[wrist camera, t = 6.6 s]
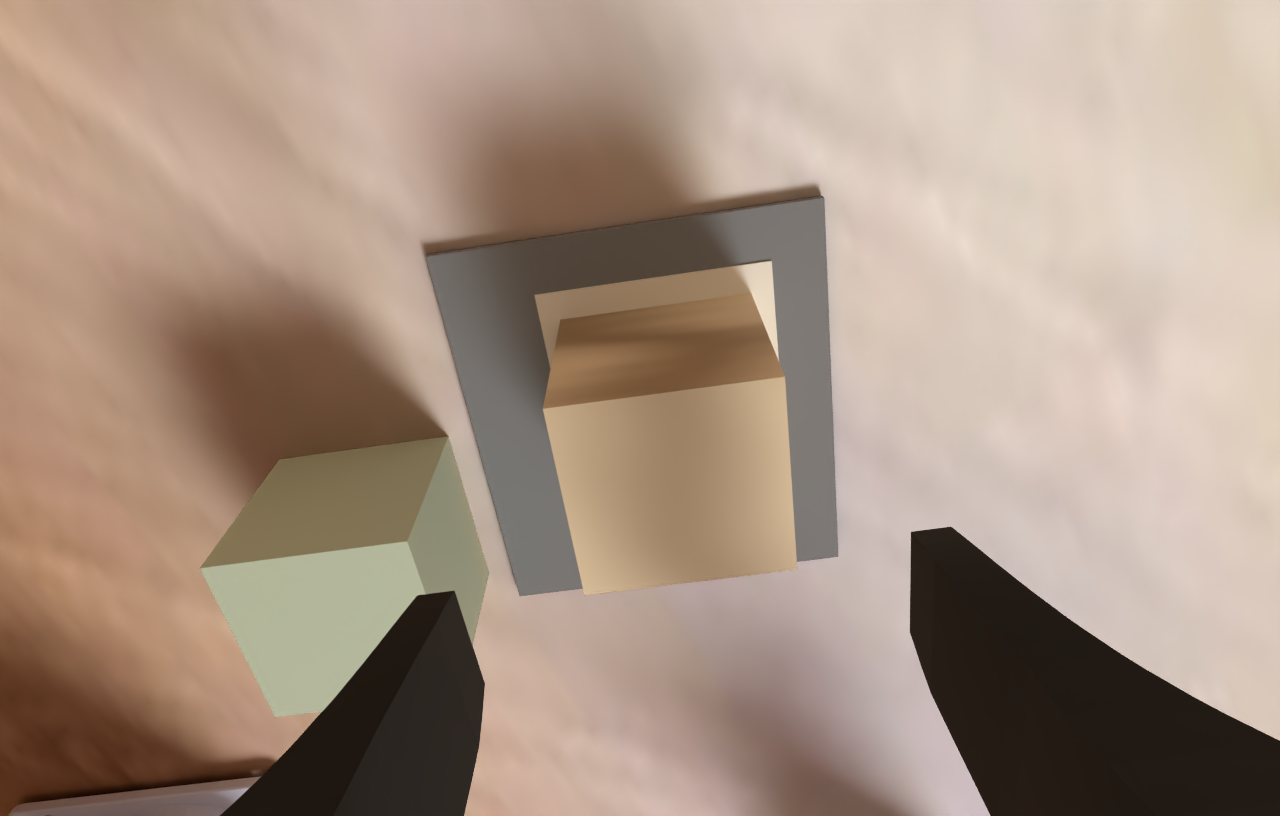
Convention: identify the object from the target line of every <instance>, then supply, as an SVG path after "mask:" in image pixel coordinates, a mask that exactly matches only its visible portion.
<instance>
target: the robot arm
mask: <svg viewBox="0 0 1280 816" xmlns="http://www.w3.org/2000/svg"><path fill="white" fill-rule="evenodd" d="M910 633H911V636H912V639H913V642H914V645H915V648H916V651H917V654H918V657H919V660H920V663H921V666H922V669H923V672H924V675H925V678H926V680H927V683H928V686H929V689H930V692H931V694H932V696H933V698H934V700H935V702H936V705H937V707H938V709H939V711H940V713H941V715H942V717H943V719H944V721H945V723H946V725H947V727H948V729H949V732H950V734H951V736H952V738H953V740H954V742H955V744H956V746H957V748H958V750H959V752H960V754H961V756H962V758H963V760H964V762H965V764H966V766H967V768H968V770H969V772H970V774H971V777H972V779H973V781H974V783H975V785H976V787H977V789H978V791H979V793H980V795H981V797H982V799H983V801H984V803H985V805H986V807H987V809H988V811H989V813H990V815H991V816H1280V741H1279V740H1277V739H1275V738H1273V737H1271V736H1269V735H1267V734H1265V733H1263V732H1261V731H1259V730H1257V729H1255V728H1253V727H1251V726H1249V725H1247V724H1245V723H1243V722H1240V721H1238V720H1236V719H1234V718H1232V717H1230V716H1228V715H1226V714H1224V713H1222V712H1221V711H1219V710H1217V709H1215V708H1213V707H1211V706H1209V705H1207V704H1206V703H1204V702H1202V701H1200V700H1198V699H1196V698H1194V697H1193V696H1191V695H1189V694H1187V693H1186V692H1184V691H1182V690H1180V689H1179V688H1177V687H1175V686H1173V685H1172V684H1170V683H1168V682H1167V681H1165V680H1163V679H1161V678H1160V677H1158V676H1156V675H1154V674H1153V673H1151V672H1149V671H1147V670H1146V669H1144V668H1142V667H1141V666H1139V665H1138V664H1136V663H1134V662H1133V661H1131V660H1130V659H1128V658H1126V657H1125V656H1123V655H1122V654H1120V653H1118V652H1117V651H1115V650H1114V649H1112V648H1111V647H1109V646H1108V645H1107V644H1105V643H1104V642H1102V641H1101V640H1099V639H1098V638H1096V637H1095V636H1093V635H1092V634H1090V633H1089V632H1087V631H1086V630H1084V629H1083V628H1081V627H1080V626H1078V625H1077V624H1075V623H1074V622H1073V621H1071V620H1070V619H1068V618H1067V617H1066V616H1064V615H1063V614H1062V613H1060V612H1059V611H1058V610H1056V609H1055V608H1054V607H1052V606H1051V605H1050V604H1048V603H1047V602H1045V601H1044V600H1043V599H1041V598H1040V597H1039V596H1037V595H1036V594H1035V593H1033V592H1032V591H1031V590H1030V589H1028V588H1027V587H1026V586H1024V585H1023V584H1022V583H1021V582H1019V581H1018V580H1017V579H1015V578H1014V577H1013V576H1012V575H1010V574H1009V573H1008V572H1007V571H1005V570H1004V569H1003V568H1002V567H1000V566H999V565H998V564H997V563H995V562H994V561H993V560H992V559H991V558H989V557H988V556H987V555H986V554H984V553H983V552H982V551H981V550H979V549H978V548H977V547H976V546H975V545H973V544H972V543H971V542H970V541H968V540H967V539H966V538H965V537H963V536H962V535H961V534H960V533H958V532H957V531H956V530H955V529H953V528H952V527H946V528H938V529H931V530H923V531H915V532H911V590H910ZM484 687H485V683H484V680H483V677H482V674H481V671H480V668H479V665H478V661H477V658H476V655H475V652H474V649H473V646H472V643H471V640H470V637H469V634H468V630H467V627H466V624H465V621H464V618H463V615H462V612H461V609H460V606H459V603H458V599H457V596H456V593H455V591H447V592H439V593H431V594H423V595H417V596H416V598H415V599H414V600H413V601H412V602H411V604H410V605H409V606H408V607H407V609H406V610H405V611H404V612H403V614H402V615H401V616H400V617H399V619H398V620H397V621H396V622H395V624H394V625H393V626H392V627H391V629H390V630H389V631H388V632H387V634H386V635H385V636H384V638H383V639H382V640H381V641H380V643H379V644H378V645H377V646H376V648H375V649H374V650H373V651H372V653H371V654H370V655H369V656H368V658H367V659H366V660H365V662H364V663H363V664H362V665H361V666H360V668H359V669H358V670H357V671H356V673H355V674H354V675H353V676H352V677H351V679H350V680H349V681H348V682H347V683H346V685H345V686H344V687H343V688H342V690H341V691H340V692H339V693H338V694H337V696H336V697H335V698H334V699H333V700H332V701H331V703H330V704H329V705H328V706H327V707H326V708H325V709H324V710H323V711H322V713H321V714H320V715H319V716H318V717H317V718H316V719H315V720H314V722H313V723H312V724H311V725H310V726H309V727H308V728H307V729H306V730H305V732H304V733H303V734H302V735H301V736H300V737H299V738H298V739H297V741H296V742H295V743H294V744H293V745H292V746H291V747H290V748H289V749H288V750H287V751H286V752H285V753H284V754H283V755H282V756H281V757H280V758H279V760H278V761H277V762H276V763H275V764H274V765H273V766H272V767H271V768H270V769H269V770H268V771H267V772H266V773H265V774H264V775H262V776H260V777H251V778H242V779H234V780H225V781H216V782H207V783H199V784H190V785H181V786H172V787H163V788H155V789H146V790H137V791H128V792H120V793H111V794H102V795H93V796H85V797H76V798H67V799H58V800H50V801H41V802H32V803H23V804H19V805H16V806H15V807H14V808H13V810H12V811H11V812H10V814H9V815H8V816H464V813H465V808H466V804H467V799H468V795H469V790H470V786H471V781H472V776H473V772H474V767H475V763H476V758H477V753H478V748H479V741H480V732H481V722H482V711H483V699H484Z"/></svg>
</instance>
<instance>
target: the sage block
mask: <svg viewBox="0 0 1280 816" xmlns="http://www.w3.org/2000/svg"><path fill="white" fill-rule="evenodd" d="M200 570H201V572H202V574H203V576H204V578H205V580H206V582H207V584H208V586H209V587H210V589H211V591H212V593H213V595H214V597H215V599H216V601H217V603H218V605H219V607H220V609H221V611H222V613H223V615H224V617H225V619H226V621H227V623H228V625H229V627H230V629H231V631H232V633H233V635H234V637H235V639H236V641H237V643H238V645H239V647H240V649H241V651H242V653H243V655H244V657H245V659H246V661H247V663H248V665H249V666H250V668H251V670H252V672H253V674H254V676H255V678H256V680H257V682H258V684H259V686H260V688H261V690H262V692H263V694H264V696H265V698H266V700H267V702H268V704H269V706H270V708H271V710H272V712H273V714H274V716H275V717H281V716H289V715H298V714H306V713H314V712H322V711H323V710H324V709H325V708H326V707H327V706H328V705H329V704H330V703H331V701H332V700H333V699H334V698H335V697H336V696H337V694H338V693H339V692H340V691H341V690H342V688H343V687H344V686H345V685H346V683H347V682H348V681H349V680H350V679H351V677H352V676H353V675H354V674H355V673H356V671H357V670H358V669H359V668H360V666H361V665H362V664H363V663H364V662H365V660H366V659H367V658H368V656H369V655H370V654H371V653H372V651H373V650H374V649H375V648H376V646H377V645H378V644H379V643H380V641H381V640H382V639H383V638H384V636H385V635H386V634H387V632H388V631H389V630H390V629H391V627H392V626H393V625H394V624H395V622H396V621H397V620H398V619H399V617H400V616H401V615H402V614H403V612H404V611H405V610H406V609H407V607H408V606H409V605H410V604H411V602H412V601H413V600H414V599H415V598H416V596H417V595H423V594H431V593H439V592H447V591H455V593H456V596H457V599H458V603H459V606H460V609H461V612H462V615H463V618H464V621H465V624H466V627H467V630H468V634H469V637H470V640H471V643H472V645H473V640H474V636H475V632H476V627H477V623H478V619H479V614H480V610H481V606H482V602H483V597H484V593H485V589H486V584H487V580H488V576H489V571H488V568H487V564H486V561H485V558H484V554H483V551H482V547H481V544H480V541H479V537H478V534H477V531H476V527H475V524H474V520H473V517H472V514H471V510H470V507H469V504H468V500H467V497H466V493H465V490H464V487H463V483H462V480H461V477H460V473H459V470H458V467H457V463H456V460H455V456H454V453H453V450H452V446H451V443H450V440H449V436H446V437H439V438H432V439H424V440H417V441H410V442H402V443H395V444H388V445H380V446H373V447H366V448H359V449H351V450H344V451H337V452H329V453H322V454H315V455H307V456H300V457H293V458H285V459H279V460H278V462H277V463H276V464H275V466H274V467H273V469H272V470H271V471H270V473H269V474H268V475H267V477H266V478H265V480H264V481H263V482H262V484H261V485H260V486H259V488H258V489H257V491H256V492H255V493H254V495H253V496H252V497H251V499H250V500H249V502H248V503H247V504H246V506H245V507H244V508H243V510H242V511H241V513H240V514H239V515H238V517H237V518H236V519H235V521H234V522H233V524H232V525H231V526H230V528H229V529H228V530H227V532H226V533H225V534H224V536H223V537H222V539H221V540H220V541H219V543H218V544H217V545H216V547H215V548H214V550H213V551H212V552H211V554H210V555H209V556H208V558H207V559H206V561H205V562H204V563H203V565H202V566H201V567H200Z"/></svg>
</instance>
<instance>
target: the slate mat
mask: <svg viewBox="0 0 1280 816" xmlns="http://www.w3.org/2000/svg"><path fill="white" fill-rule="evenodd" d="M426 260H427V264H428V268H429V271H430V275H431V278H432V282H433V286H434V289H435V293H436V296H437V300H438V304H439V307H440V311H441V314H442V318H443V322H444V325H445V329H446V332H447V336H448V340H449V343H450V347H451V350H452V354H453V358H454V361H455V365H456V368H457V372H458V376H459V379H460V383H461V386H462V390H463V394H464V397H465V401H466V404H467V408H468V412H469V415H470V419H471V422H472V426H473V430H474V433H475V437H476V440H477V444H478V448H479V451H480V455H481V458H482V462H483V466H484V469H485V473H486V476H487V480H488V484H489V487H490V491H491V494H492V498H493V502H494V505H495V509H496V512H497V516H498V520H499V523H500V527H501V530H502V534H503V538H504V541H505V545H506V548H507V552H508V556H509V559H510V563H511V566H512V570H513V574H514V577H515V581H516V585H517V588H518V592H519V595H520V596H526V595H534V594H542V593H550V592H558V591H566V590H574V589H582V588H583V587H582V582H581V578H580V573H579V569H578V564H577V560H576V555H575V551H574V546H573V542H572V537H571V533H570V528H569V524H568V519H567V515H566V511H565V506H564V502H563V497H562V493H561V488H560V484H559V479H558V475H557V470H556V466H555V461H554V457H553V452H552V448H551V443H550V439H549V434H548V430H547V426H546V421H545V417H544V412H543V405H544V400H545V395H546V390H547V385H548V380H549V375H550V370H551V364H552V359H553V354H554V349H555V344H556V339H557V334H558V329H559V324H560V320H561V319H568V318H576V317H583V316H590V315H597V314H604V313H612V312H619V311H626V310H633V309H641V308H648V307H655V306H662V305H669V304H677V303H684V302H691V301H698V300H705V299H713V298H720V297H727V296H734V295H742V294H749V293H751V294H752V296H753V299H754V301H755V304H756V306H757V309H758V311H759V314H760V316H761V318H762V321H763V323H764V326H765V328H766V331H767V333H768V336H769V338H770V341H771V343H772V346H773V348H774V351H775V353H776V356H777V358H778V361H779V363H780V366H781V368H782V371H783V373H784V376H785V385H786V401H787V416H788V432H789V448H790V463H791V479H792V495H793V510H794V526H795V542H796V557H797V562H799V561H807V560H815V559H823V558H831V557H838V538H837V513H836V487H835V461H834V436H833V410H832V385H831V359H830V334H829V308H828V283H827V257H826V232H825V206H824V197H823V196H817V197H810V198H804V199H797V200H790V201H783V202H777V203H770V204H763V205H756V206H750V207H743V208H736V209H729V210H723V211H716V212H709V213H703V214H696V215H689V216H682V217H676V218H669V219H662V220H655V221H649V222H642V223H635V224H629V225H622V226H615V227H608V228H602V229H595V230H588V231H581V232H575V233H568V234H561V235H554V236H548V237H541V238H534V239H528V240H521V241H514V242H507V243H501V244H494V245H487V246H480V247H474V248H467V249H460V250H454V251H447V252H440V253H433V254H427V256H426Z"/></svg>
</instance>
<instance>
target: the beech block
mask: <svg viewBox="0 0 1280 816" xmlns="http://www.w3.org/2000/svg"><path fill="white" fill-rule="evenodd" d="M543 412H544V417H545V421H546V426H547V430H548V434H549V439H550V443H551V448H552V452H553V457H554V461H555V466H556V470H557V475H558V479H559V484H560V488H561V493H562V497H563V502H564V506H565V511H566V515H567V519H568V524H569V528H570V533H571V537H572V542H573V546H574V551H575V555H576V560H577V564H578V569H579V573H580V578H581V582H582V587H583V591H584V595H590V594H598V593H606V592H615V591H623V590H631V589H639V588H648V587H656V586H664V585H673V584H681V583H689V582H698V581H706V580H714V579H723V578H731V577H739V576H747V575H756V574H764V573H772V572H781V571H789V570H797V557H796V542H795V526H794V510H793V495H792V479H791V463H790V448H789V432H788V416H787V401H786V385H785V376H784V373H783V371H782V368H781V366H780V363H779V361H778V358H777V356H776V353H775V351H774V348H773V346H772V343H771V341H770V338H769V336H768V333H767V331H766V328H765V326H764V323H763V321H762V318H761V316H760V314H759V311H758V309H757V306H756V304H755V301H754V299H753V296H752V294H751V293H749V294H742V295H734V296H727V297H720V298H713V299H705V300H698V301H691V302H684V303H677V304H669V305H662V306H655V307H648V308H641V309H633V310H626V311H619V312H612V313H604V314H597V315H590V316H583V317H576V318H568V319H561V320H560V324H559V329H558V334H557V339H556V344H555V349H554V354H553V359H552V364H551V370H550V375H549V380H548V385H547V390H546V395H545V400H544V405H543Z"/></svg>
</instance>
